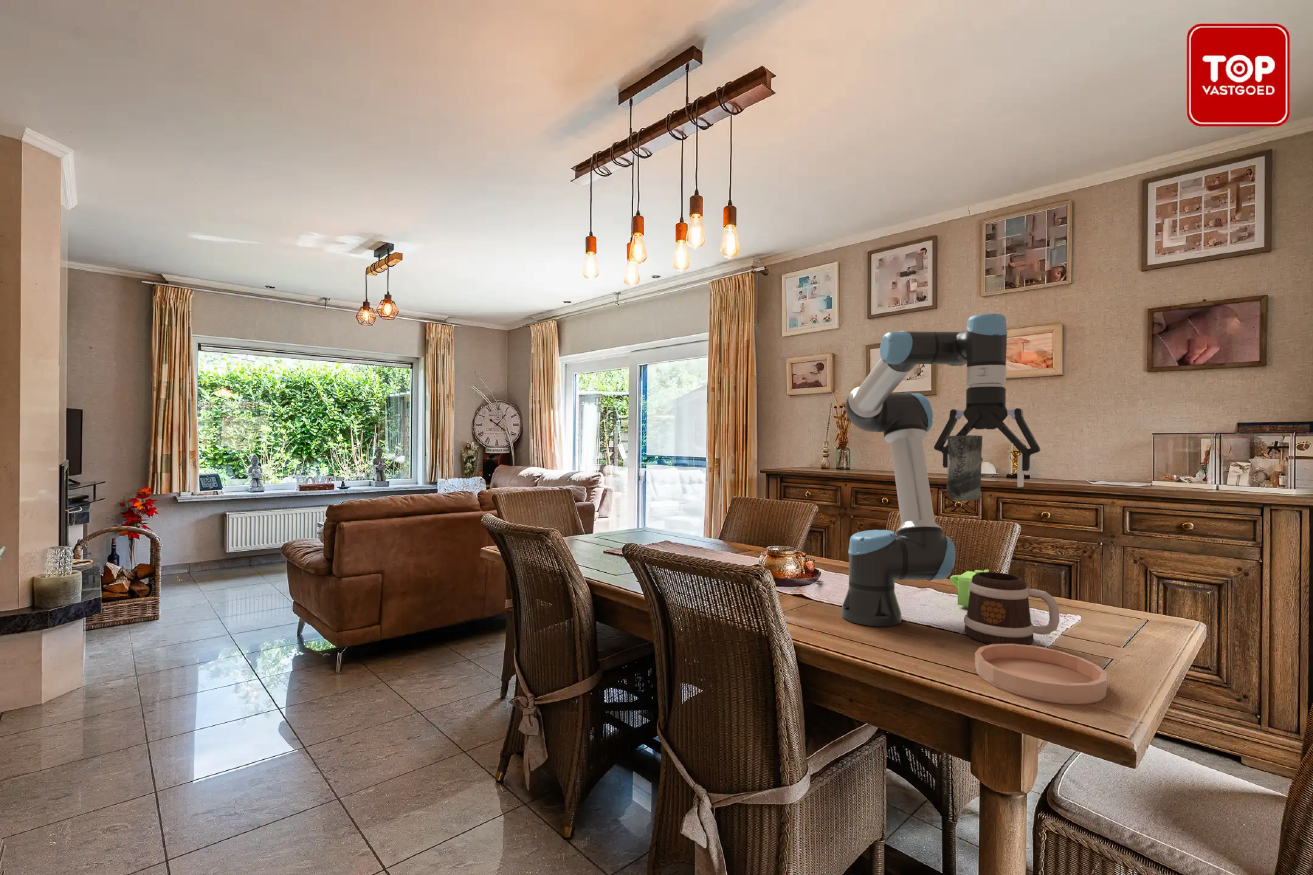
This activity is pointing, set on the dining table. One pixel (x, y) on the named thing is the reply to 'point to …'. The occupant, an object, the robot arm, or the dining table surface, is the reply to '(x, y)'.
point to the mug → (1005, 610)
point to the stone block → (964, 467)
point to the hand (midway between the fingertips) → (984, 484)
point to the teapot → (964, 586)
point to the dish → (1041, 673)
